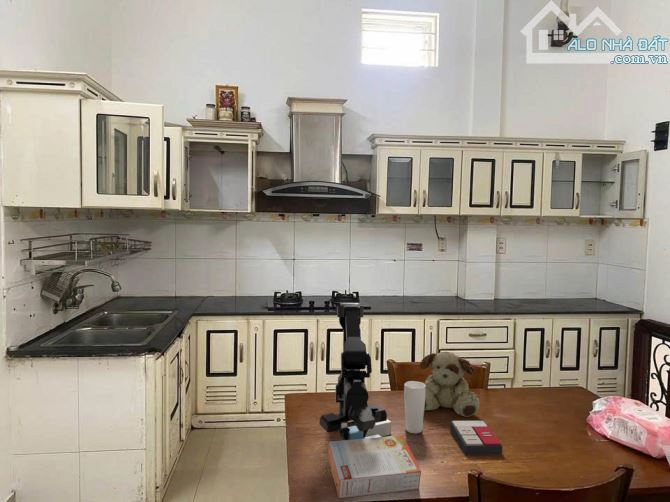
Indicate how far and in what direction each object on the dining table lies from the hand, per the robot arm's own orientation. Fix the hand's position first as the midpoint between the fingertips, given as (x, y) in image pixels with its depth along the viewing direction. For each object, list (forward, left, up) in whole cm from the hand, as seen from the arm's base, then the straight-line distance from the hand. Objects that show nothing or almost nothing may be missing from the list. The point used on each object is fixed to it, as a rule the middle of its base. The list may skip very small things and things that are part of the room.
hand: (353, 447), depth 127 cm
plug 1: (0, 0, -3) cm, 3 cm away
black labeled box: (+7, +38, -4) cm, 39 cm away
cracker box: (+14, +10, +1) cm, 17 cm away
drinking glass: (-7, +26, -3) cm, 27 cm away
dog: (-18, +49, -4) cm, 52 cm away
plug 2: (-10, +14, -3) cm, 18 cm away
